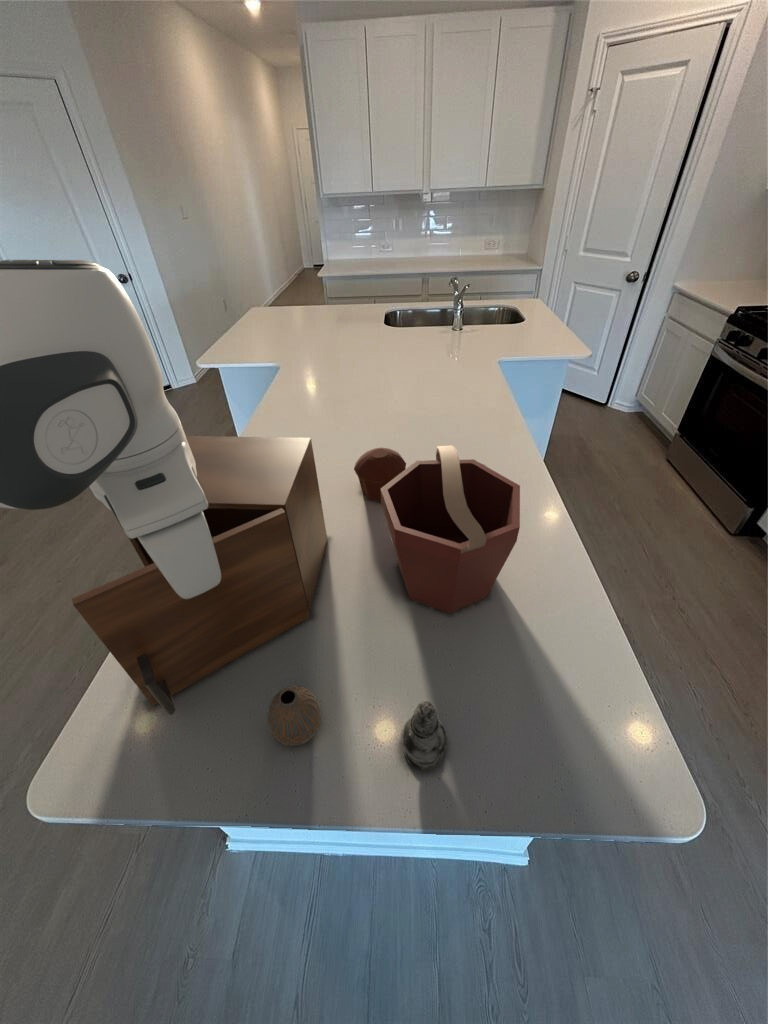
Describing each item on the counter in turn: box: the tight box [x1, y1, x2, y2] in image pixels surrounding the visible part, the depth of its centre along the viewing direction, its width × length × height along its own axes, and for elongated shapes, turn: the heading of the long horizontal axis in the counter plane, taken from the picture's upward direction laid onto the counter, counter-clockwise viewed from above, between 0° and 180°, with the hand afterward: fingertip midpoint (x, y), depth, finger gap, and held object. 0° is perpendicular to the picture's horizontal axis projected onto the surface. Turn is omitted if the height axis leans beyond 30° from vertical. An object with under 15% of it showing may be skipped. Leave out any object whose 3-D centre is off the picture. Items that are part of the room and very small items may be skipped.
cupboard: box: [127, 435, 328, 612], centre depth 76 cm, size 18×26×24 cm
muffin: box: [353, 447, 407, 503], centre depth 99 cm, size 12×11×10 cm
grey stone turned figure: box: [400, 700, 448, 771], centre depth 55 cm, size 6×6×12 cm
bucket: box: [380, 445, 521, 614], centre depth 73 cm, size 24×22×25 cm
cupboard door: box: [71, 508, 311, 716], centre depth 61 cm, size 6×26×24 cm, turn 126°
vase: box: [267, 685, 322, 747], centre depth 58 cm, size 7×7×9 cm
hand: (188, 566), depth 48 cm, fingers open, 6 cm apart
